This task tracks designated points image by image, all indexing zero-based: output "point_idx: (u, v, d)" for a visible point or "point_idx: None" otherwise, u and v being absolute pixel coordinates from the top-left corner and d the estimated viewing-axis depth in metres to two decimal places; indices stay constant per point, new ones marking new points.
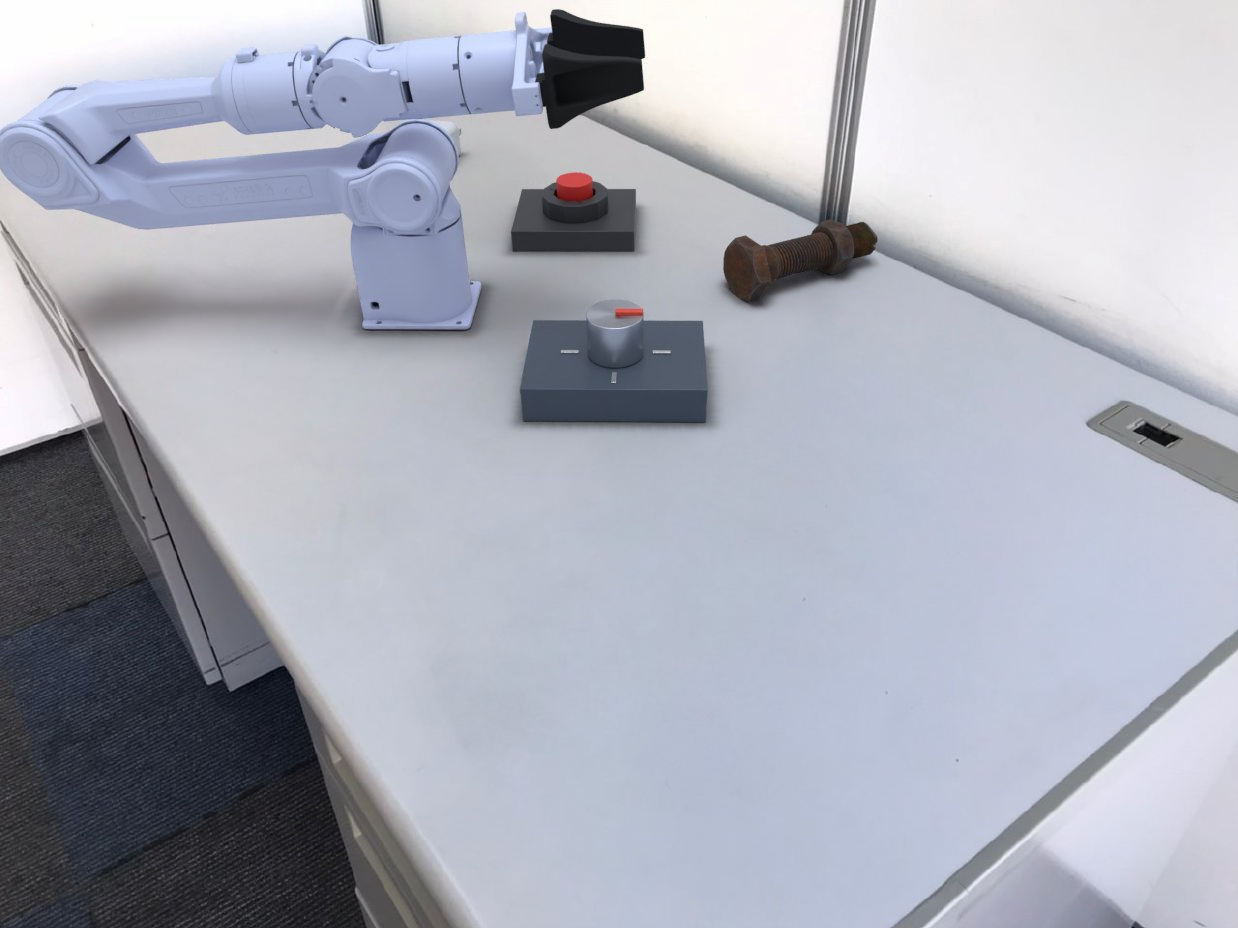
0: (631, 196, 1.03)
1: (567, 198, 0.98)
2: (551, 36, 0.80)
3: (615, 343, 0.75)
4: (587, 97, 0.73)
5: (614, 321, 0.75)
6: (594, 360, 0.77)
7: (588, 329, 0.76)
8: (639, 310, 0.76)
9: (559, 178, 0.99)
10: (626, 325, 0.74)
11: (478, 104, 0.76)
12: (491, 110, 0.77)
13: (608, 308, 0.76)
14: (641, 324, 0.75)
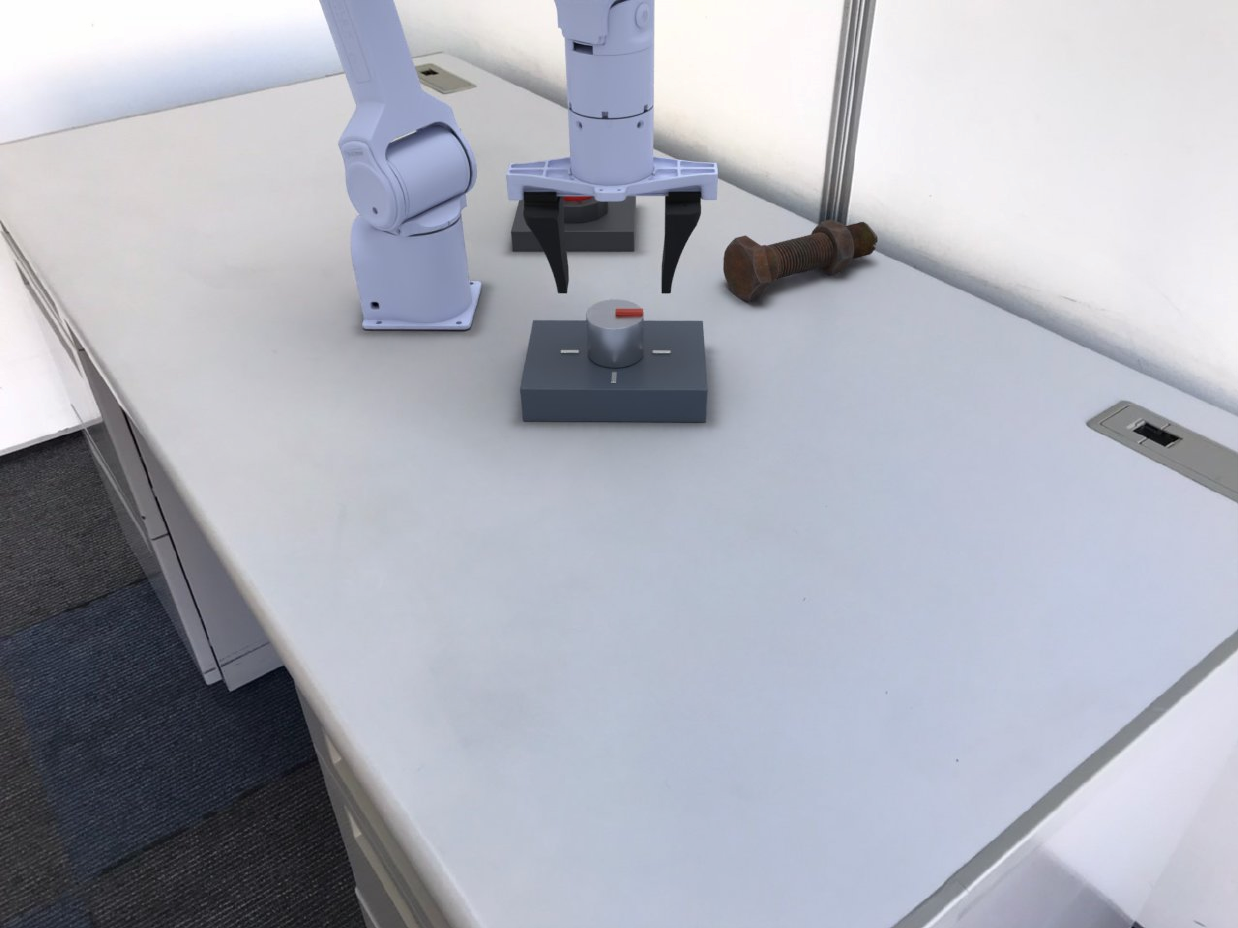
0: (631, 196, 1.03)
1: (567, 198, 0.98)
2: (686, 198, 0.69)
3: (615, 343, 0.75)
4: None
5: (614, 321, 0.75)
6: (594, 360, 0.77)
7: (588, 329, 0.76)
8: (639, 310, 0.76)
9: None
10: (626, 325, 0.74)
11: None
12: None
13: (608, 308, 0.76)
14: (641, 324, 0.75)
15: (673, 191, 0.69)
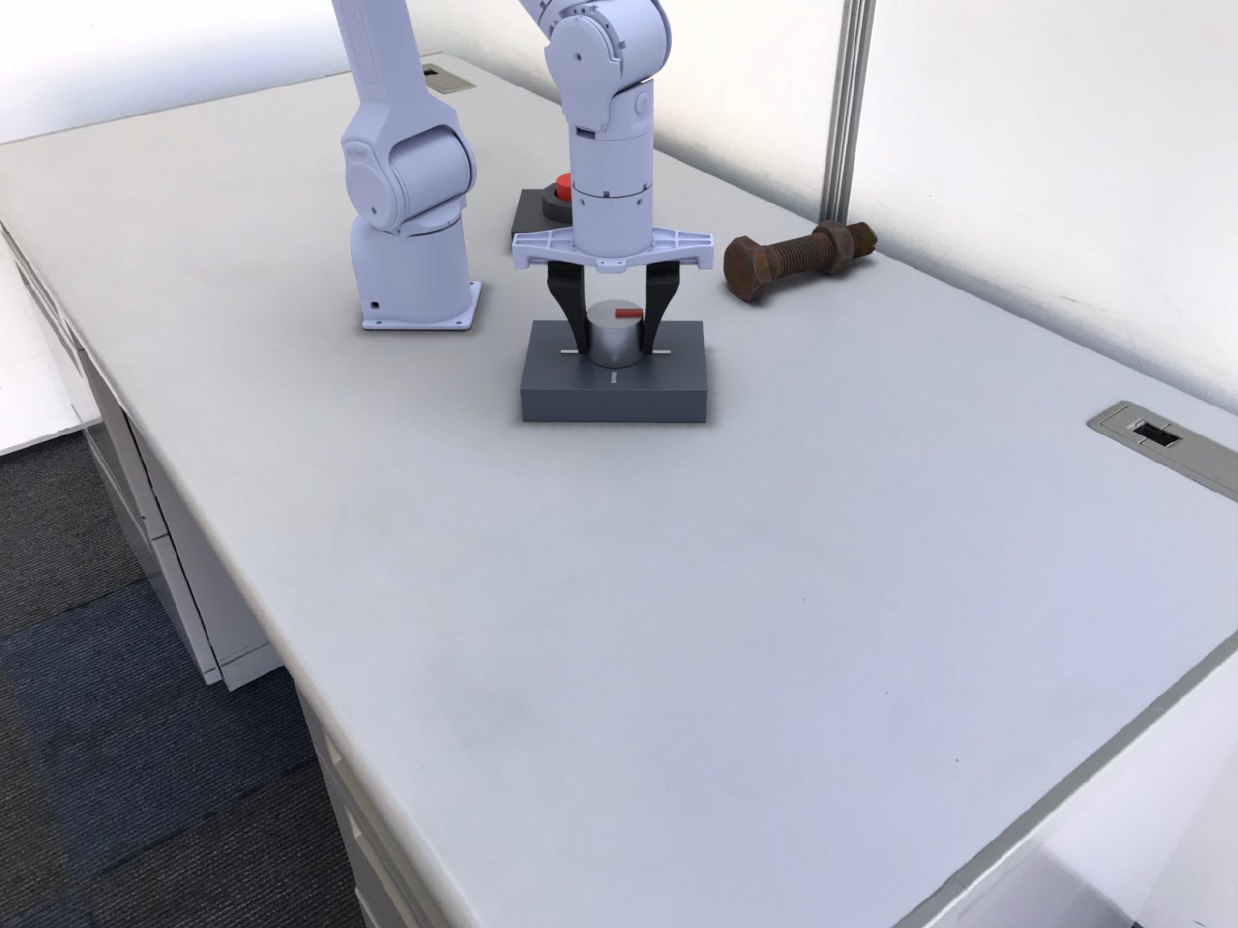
0: None
1: (567, 198, 0.98)
2: (665, 267, 0.72)
3: (615, 343, 0.75)
4: None
5: (614, 321, 0.75)
6: (594, 360, 0.77)
7: (588, 329, 0.76)
8: (639, 310, 0.76)
9: (559, 178, 0.99)
10: (625, 325, 0.74)
11: None
12: None
13: (608, 308, 0.76)
14: (641, 324, 0.75)
15: None
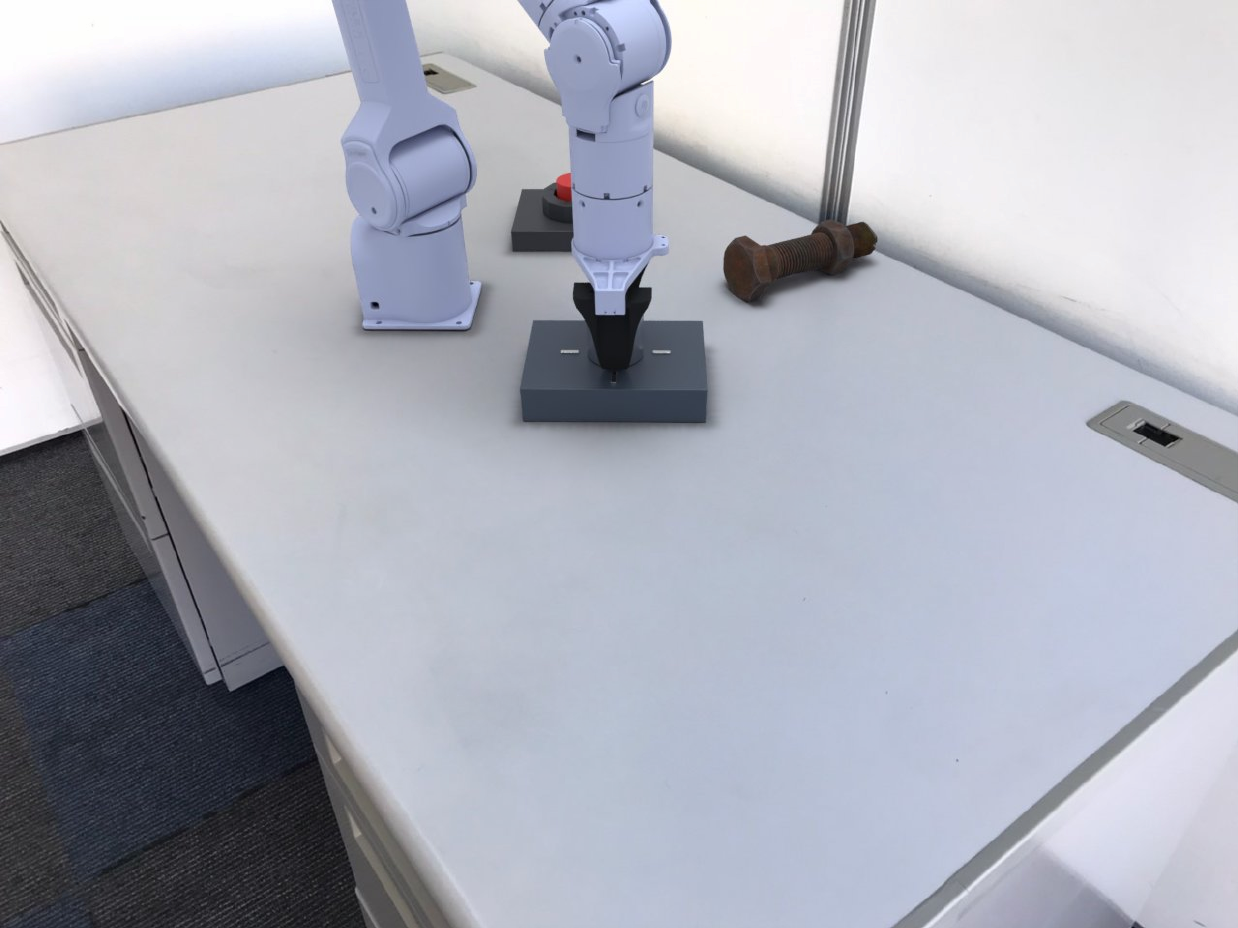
0: None
1: (567, 198, 0.98)
2: None
3: (643, 327, 0.77)
4: (599, 322, 0.73)
5: None
6: (635, 360, 0.77)
7: None
8: None
9: (559, 178, 0.99)
10: None
11: (589, 210, 0.68)
12: (579, 215, 0.69)
13: None
14: None
15: None
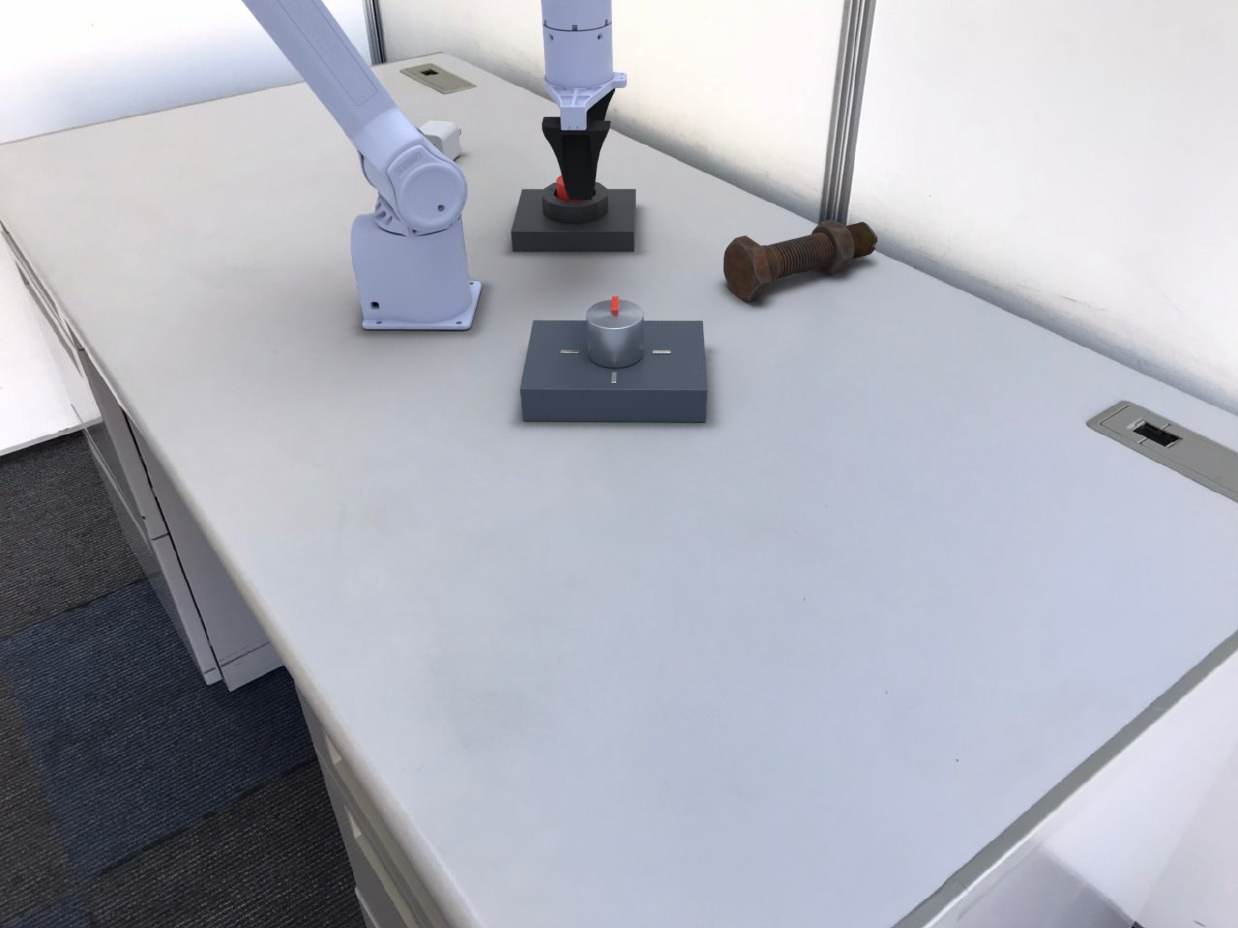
0: (631, 196, 1.03)
1: (567, 198, 0.98)
2: None
3: (643, 327, 0.77)
4: (565, 154, 0.84)
5: (629, 313, 0.76)
6: (635, 360, 0.77)
7: (626, 337, 0.75)
8: (615, 297, 0.77)
9: (559, 178, 0.99)
10: (637, 307, 0.76)
11: (557, 41, 0.80)
12: (548, 48, 0.81)
13: (604, 317, 0.75)
14: None
15: None
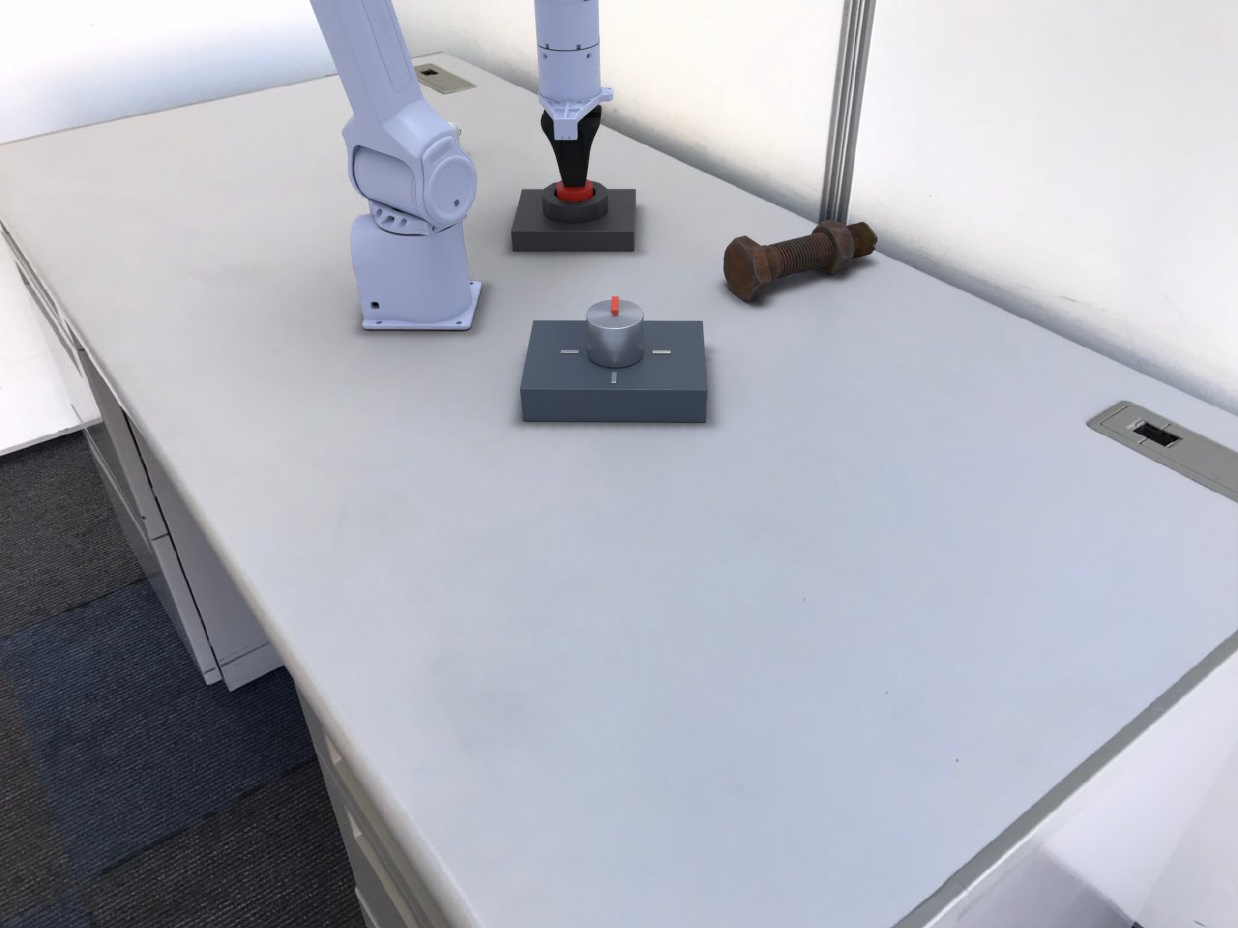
0: (631, 196, 1.03)
1: None
2: None
3: (643, 327, 0.77)
4: (561, 147, 0.96)
5: (629, 313, 0.76)
6: (635, 360, 0.77)
7: (626, 337, 0.75)
8: (615, 297, 0.77)
9: (559, 183, 0.99)
10: (637, 307, 0.76)
11: (550, 60, 0.89)
12: (542, 66, 0.90)
13: (604, 317, 0.75)
14: None
15: None
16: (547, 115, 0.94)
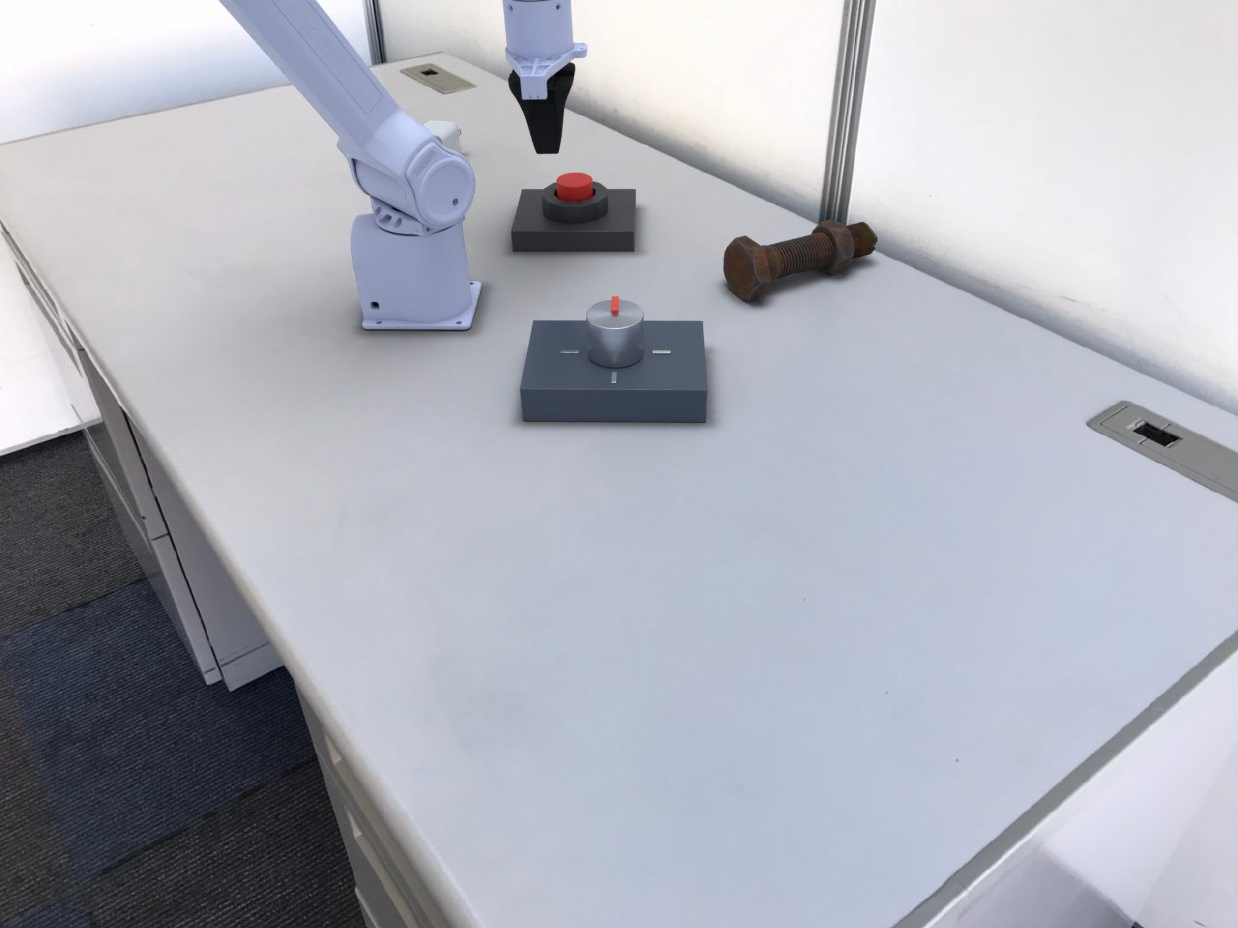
0: (631, 196, 1.03)
1: (567, 198, 0.98)
2: None
3: (643, 327, 0.77)
4: (532, 109, 0.88)
5: (629, 313, 0.76)
6: (635, 360, 0.77)
7: (626, 337, 0.75)
8: (615, 297, 0.77)
9: (559, 178, 0.99)
10: (637, 307, 0.76)
11: (516, 12, 0.81)
12: (508, 19, 0.82)
13: (604, 317, 0.75)
14: None
15: None
16: (515, 74, 0.86)
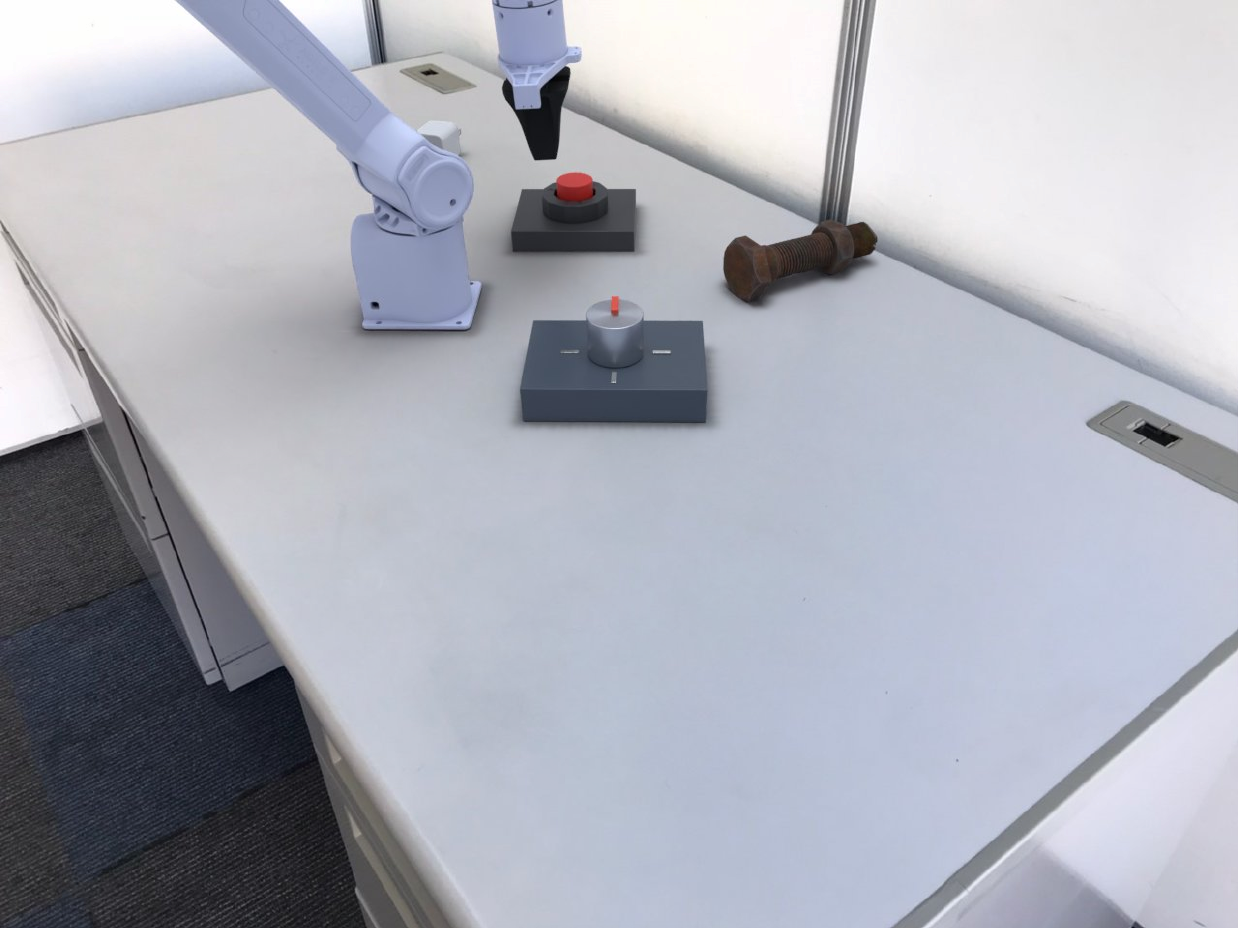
0: (631, 196, 1.03)
1: (567, 198, 0.98)
2: None
3: (643, 327, 0.77)
4: (527, 116, 0.86)
5: (629, 313, 0.76)
6: (635, 360, 0.77)
7: (626, 337, 0.75)
8: (615, 297, 0.77)
9: (559, 178, 0.99)
10: (637, 307, 0.76)
11: (507, 20, 0.80)
12: (499, 27, 0.81)
13: (604, 317, 0.75)
14: None
15: None
16: (509, 81, 0.85)
